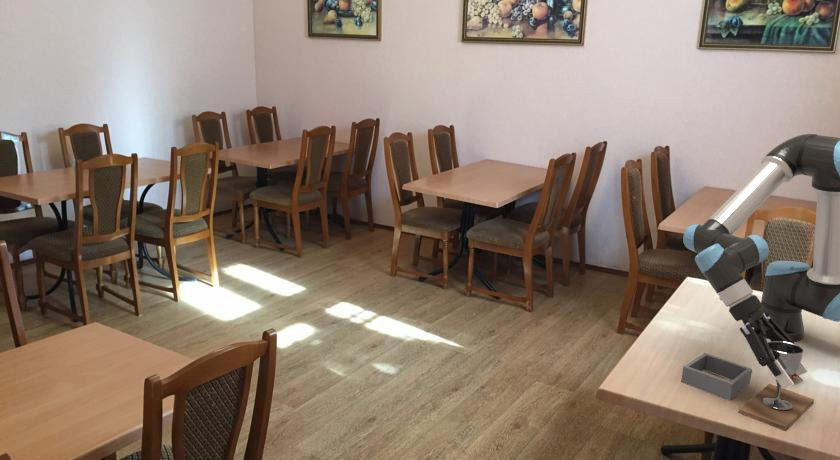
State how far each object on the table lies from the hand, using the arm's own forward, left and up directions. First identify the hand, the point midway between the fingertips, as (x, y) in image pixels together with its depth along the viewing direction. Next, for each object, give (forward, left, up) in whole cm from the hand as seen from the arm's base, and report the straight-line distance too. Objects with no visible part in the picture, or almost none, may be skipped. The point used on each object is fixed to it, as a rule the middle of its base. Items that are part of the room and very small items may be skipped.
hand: (795, 379), depth 172 cm
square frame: (-1, -19, -9) cm, 21 cm away
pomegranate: (-19, -7, -9) cm, 22 cm away
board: (0, -3, -9) cm, 9 cm away
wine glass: (0, -3, -8) cm, 9 cm away
